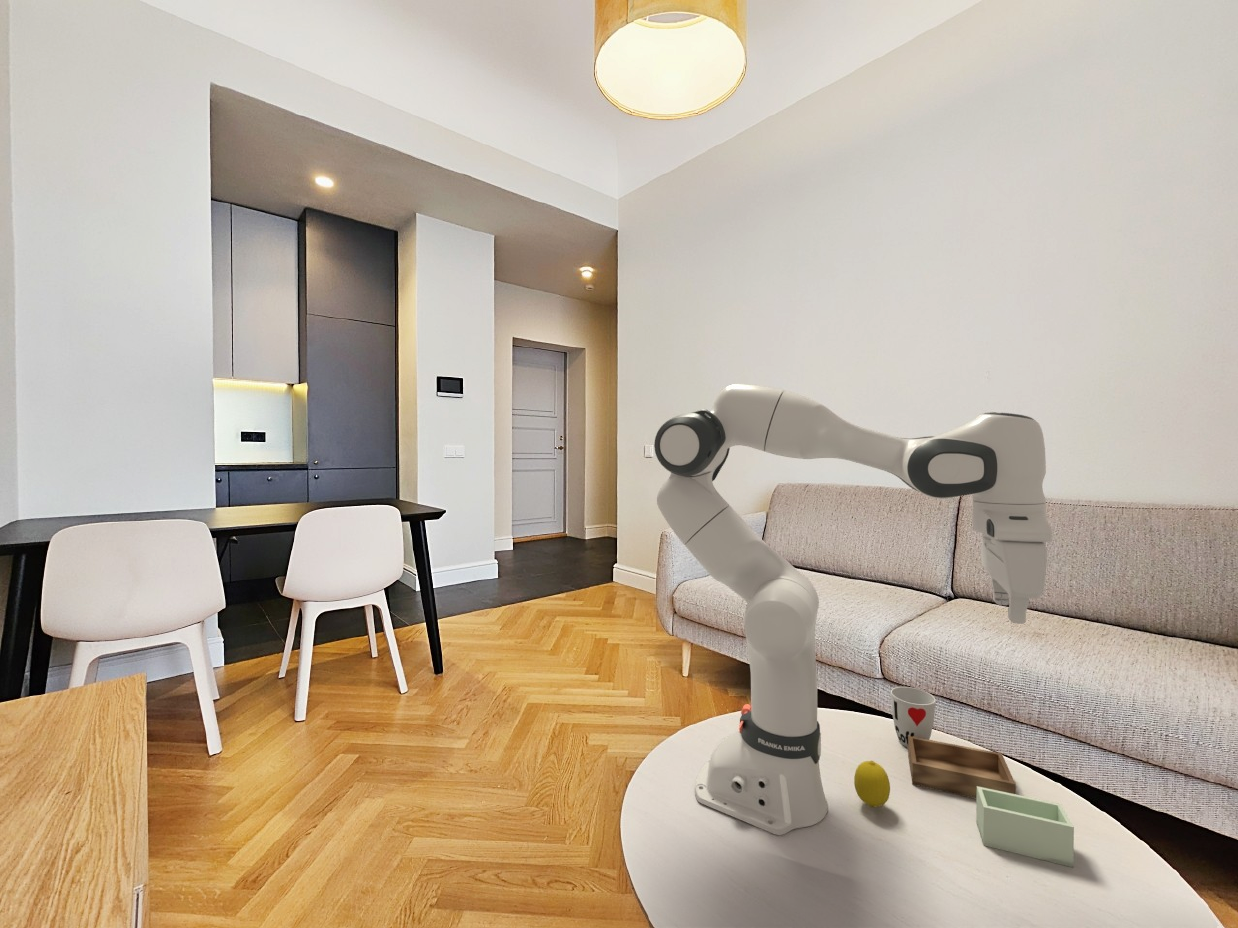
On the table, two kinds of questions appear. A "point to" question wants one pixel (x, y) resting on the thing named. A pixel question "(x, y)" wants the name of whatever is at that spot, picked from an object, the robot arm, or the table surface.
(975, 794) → the walnut crate
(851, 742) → the table surface
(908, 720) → the cup
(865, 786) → the lemon
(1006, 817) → the sage crate
